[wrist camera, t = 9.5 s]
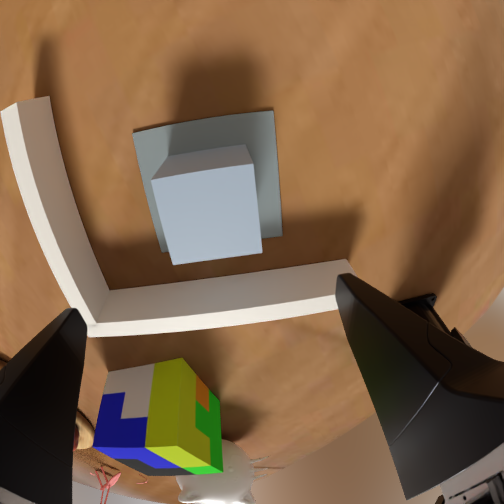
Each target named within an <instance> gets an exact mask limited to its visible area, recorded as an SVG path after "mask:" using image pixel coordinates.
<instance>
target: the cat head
mask: <svg viewBox="0 0 504 504" xmlns="http://www.w3.org/2000/svg"><path fill="white" fill-rule="evenodd" d="M222 456H223V473H213V474H200V475H179V476H176V480H177V482H178V485H179V486H180V488H181V489H182V491H181V493H180V494H179V496H178V500H179V501H180V502H183V503H196V502H198V503H201V504H256V500H255V499H254V497H253V495H252V493H251V486H252V483H253V480H255V479H257V478H259V477H262V476H265V475H267V474H264V475H259V476H254V472H256V471H261V470H265V469H269V468H256V469H254V468H253V464H252V463H254V462H257V461H260V460H263V459H265V458H267V457H263V458H259V459H250V458H249V456H248V455H247V453H246V452H245V451H244V450H243V449H242V448H241V447H239V446H238V445H236V444H235V443H233V442H230V441H228V440H224V439H222ZM268 457H269V456H268Z"/></svg>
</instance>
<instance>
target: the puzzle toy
mask: <svg viewBox="0 0 504 504" xmlns="http://www.w3.org/2000/svg"><path fill="white" fill-rule="evenodd" d="M92 447H94V448H95V449H97V450H99V451H101V452H102V453H104V454H106V455H108V456H109V457H111V458H113V459H115V460H117V461H119V462H121V463H123V464H125V465H127V466H129V467H131V468H133V469H135V470H137V471H139V472H141V473H143V474H146V475H148V476H179V475H200V474H213V473H223V456H222V438H221V418H220V401H219V400H218V399H217V398H216V396H215V395H214V394H213V393H212V392H211V391H210V390H209V389H208V387H207V386H206V385H205V384H204V383H203V382H202V381H201V379H200V378H199V377H198V376H197V375H196V374H195V372H194V371H193V370H192V369H191V368H190V366H189V365H188V364H187V363H186V362H185V360H184V359H183V358H178V359H173V360H168V361H164V362H159V363H154V364H149V365H144V366H139V367H133V368H128V369H122V370H116V371H110V372H108V375H107V379H106V383H105V387H104V392H103V396H102V400H101V405H100V409H99V414H98V419H97V424H96V429H95V434H94V440H93V445H92Z"/></svg>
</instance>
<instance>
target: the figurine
mask: <svg viewBox="0 0 504 504" xmlns="http://www.w3.org/2000/svg"><path fill="white" fill-rule="evenodd" d="M101 470H102V472H103V475H104V477H105V480H106V482H107V483H106V484H105V485H102V483H101V480H100V478H99V475H98V473H97V471H95V472H96V475H97V477H98V480H99V482H100V485H101V489H100V490H103V492H104V488H108V492H107V495H106V499H105V502H104V504H106V500H107V497H108V493H109V489H110V487H111V486H112V485H114V484H115V483H116V482H117V480H118V478H119V476H120V474H121V472H119V473H117V474H116V475H114V476H113V477H112V478H111V479H110V480H109V481H108V480H107V477H106V475H105V472H104V470H103V467H101ZM90 474H91V473H90ZM93 475H94V474H93ZM139 475H140V474H139ZM141 476H142V475H141ZM144 478H145V477H144ZM148 480H149V479H148ZM144 483H146V482H144ZM136 484H141V483H136ZM103 492H102V497H101V503H100V504H102V498H103Z"/></svg>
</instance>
